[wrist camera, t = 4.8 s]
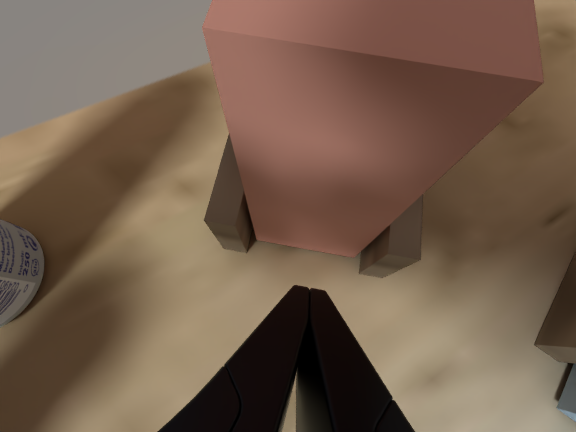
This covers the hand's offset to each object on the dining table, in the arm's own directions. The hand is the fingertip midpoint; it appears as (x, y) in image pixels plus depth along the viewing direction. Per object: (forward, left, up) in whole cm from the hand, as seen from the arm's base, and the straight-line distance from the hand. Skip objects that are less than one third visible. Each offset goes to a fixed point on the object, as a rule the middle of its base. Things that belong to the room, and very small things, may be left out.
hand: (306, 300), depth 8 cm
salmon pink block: (+4, -3, -7) cm, 9 cm away
